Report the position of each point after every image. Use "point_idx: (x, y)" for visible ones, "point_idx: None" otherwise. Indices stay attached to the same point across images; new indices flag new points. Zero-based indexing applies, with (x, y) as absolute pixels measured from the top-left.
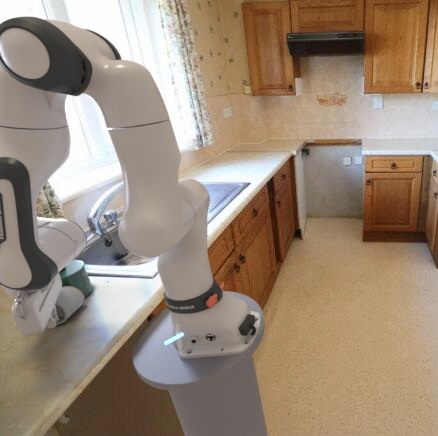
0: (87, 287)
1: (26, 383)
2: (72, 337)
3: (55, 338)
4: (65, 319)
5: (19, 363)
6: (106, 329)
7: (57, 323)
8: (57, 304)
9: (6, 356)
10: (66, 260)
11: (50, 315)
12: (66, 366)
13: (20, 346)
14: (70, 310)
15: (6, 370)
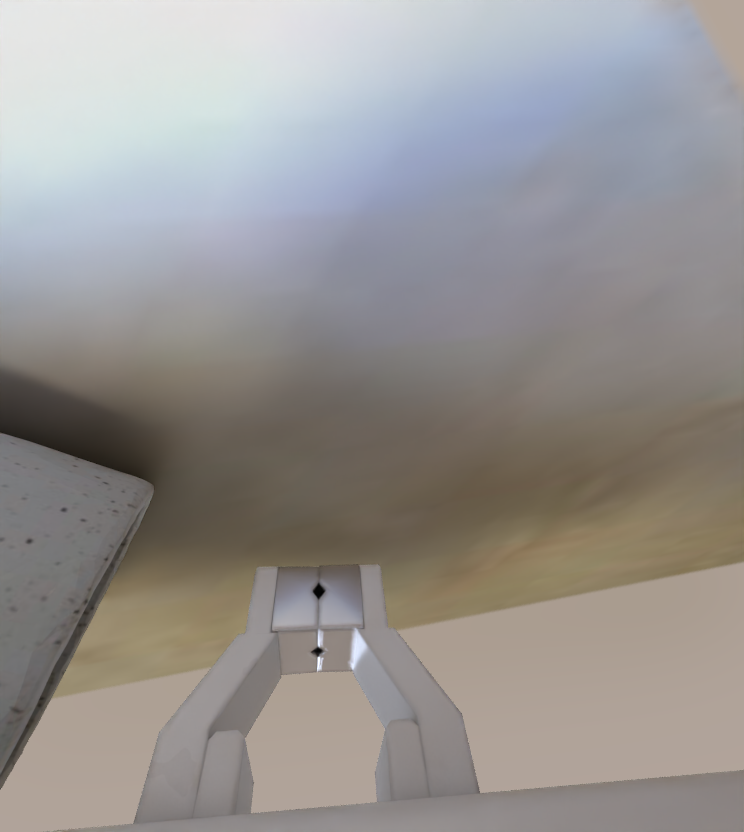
0: None
1: (638, 537)
2: (381, 397)
3: (319, 492)
4: (150, 487)
5: (445, 589)
6: (466, 90)
7: (140, 515)
8: (44, 681)
9: None
10: None
11: (439, 743)
12: (696, 392)
13: None
14: (60, 489)
15: (459, 616)
